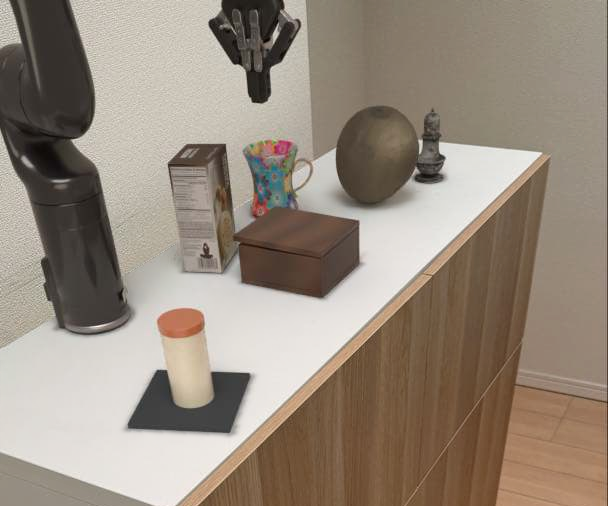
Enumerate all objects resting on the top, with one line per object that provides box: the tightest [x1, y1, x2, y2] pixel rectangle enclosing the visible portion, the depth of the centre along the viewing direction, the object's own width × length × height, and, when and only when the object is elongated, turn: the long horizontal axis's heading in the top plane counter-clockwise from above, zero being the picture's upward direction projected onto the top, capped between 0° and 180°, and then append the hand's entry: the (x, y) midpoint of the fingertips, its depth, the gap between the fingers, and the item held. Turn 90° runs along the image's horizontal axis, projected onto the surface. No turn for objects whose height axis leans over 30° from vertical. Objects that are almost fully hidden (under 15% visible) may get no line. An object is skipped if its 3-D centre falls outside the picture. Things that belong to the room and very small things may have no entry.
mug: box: [242, 139, 314, 218], centre depth 132 cm, size 12×9×11 cm
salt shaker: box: [414, 107, 447, 184], centre depth 141 cm, size 6×6×12 cm
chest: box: [237, 225, 360, 299], centre depth 115 cm, size 14×13×6 cm
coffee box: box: [166, 143, 238, 274], centre depth 117 cm, size 9×6×16 cm
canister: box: [156, 307, 215, 408], centre depth 89 cm, size 5×5×10 cm
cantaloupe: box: [335, 105, 420, 205], centre depth 132 cm, size 14×14×15 cm
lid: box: [233, 206, 361, 258], centre depth 113 cm, size 14×13×1 cm
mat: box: [127, 369, 251, 433], centre depth 92 cm, size 12×12×1 cm
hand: (260, 101), depth 103 cm, fingers closed
